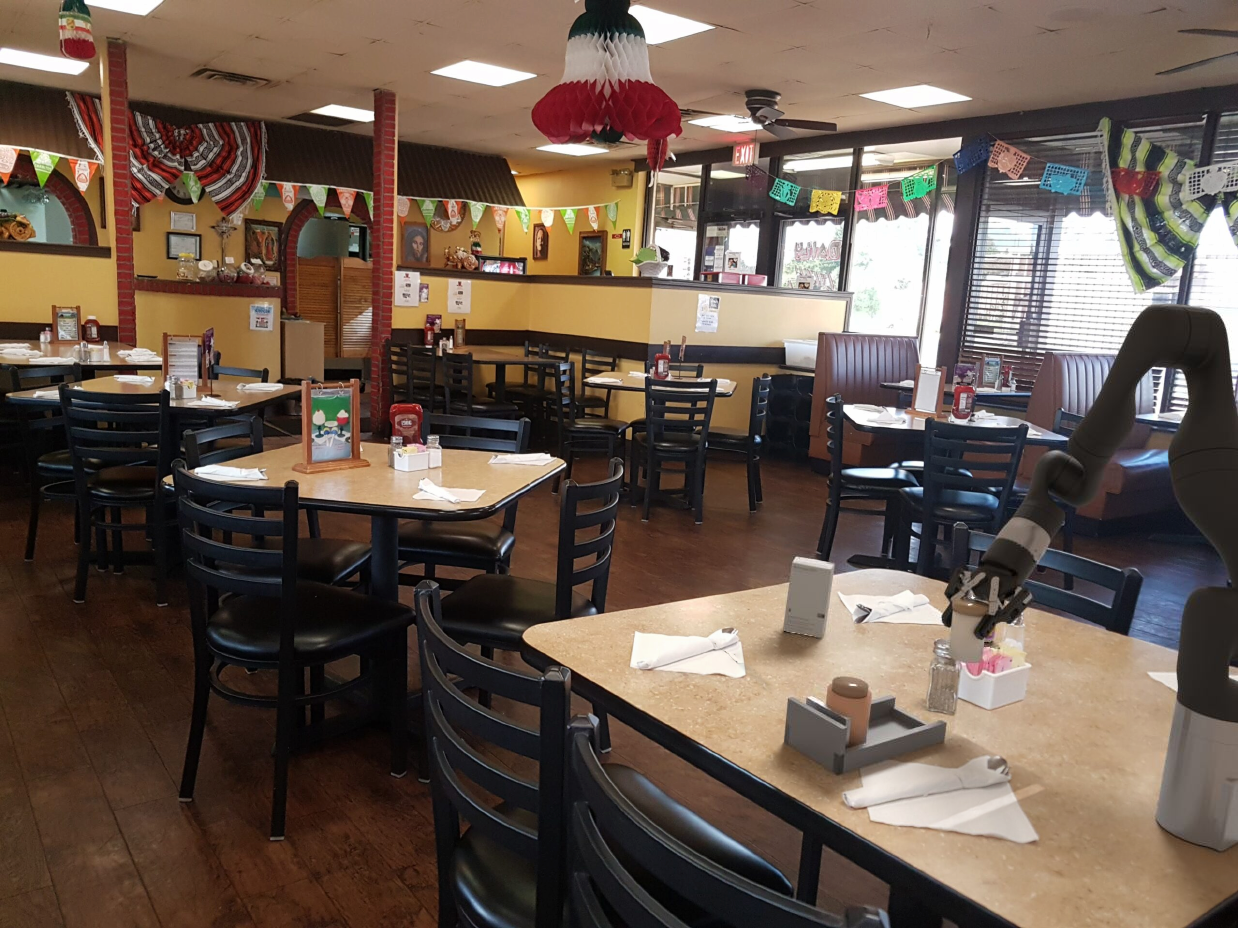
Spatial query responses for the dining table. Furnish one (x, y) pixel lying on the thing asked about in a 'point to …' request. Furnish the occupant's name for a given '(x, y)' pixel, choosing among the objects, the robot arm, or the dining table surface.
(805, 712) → the pusher lane
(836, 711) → the plate
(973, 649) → the cream jar
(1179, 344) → the robot arm
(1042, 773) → the dining table surface
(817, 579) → the skincare box
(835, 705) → the terracotta jar
